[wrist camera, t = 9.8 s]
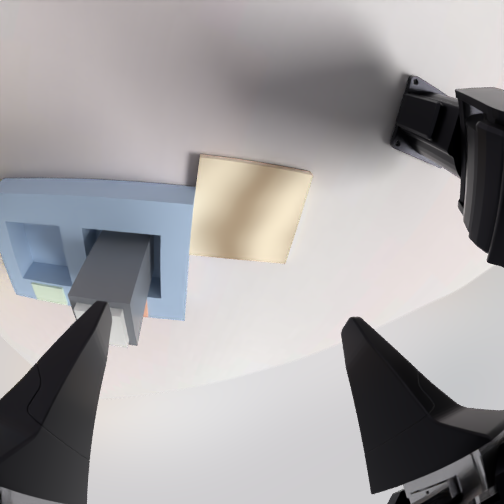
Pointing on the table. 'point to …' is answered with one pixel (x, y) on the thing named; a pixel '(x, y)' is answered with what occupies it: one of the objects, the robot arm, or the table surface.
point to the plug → (117, 282)
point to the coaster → (246, 209)
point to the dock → (93, 234)
